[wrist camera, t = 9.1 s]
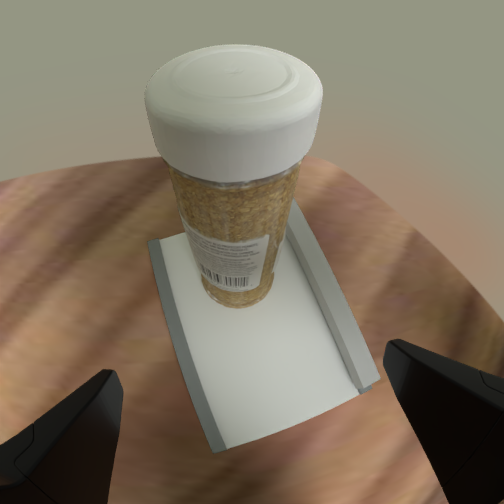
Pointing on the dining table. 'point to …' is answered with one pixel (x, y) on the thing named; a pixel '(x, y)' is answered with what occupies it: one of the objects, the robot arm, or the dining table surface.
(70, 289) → the dining table surface
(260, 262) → the sprinkles bottle
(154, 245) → the base
